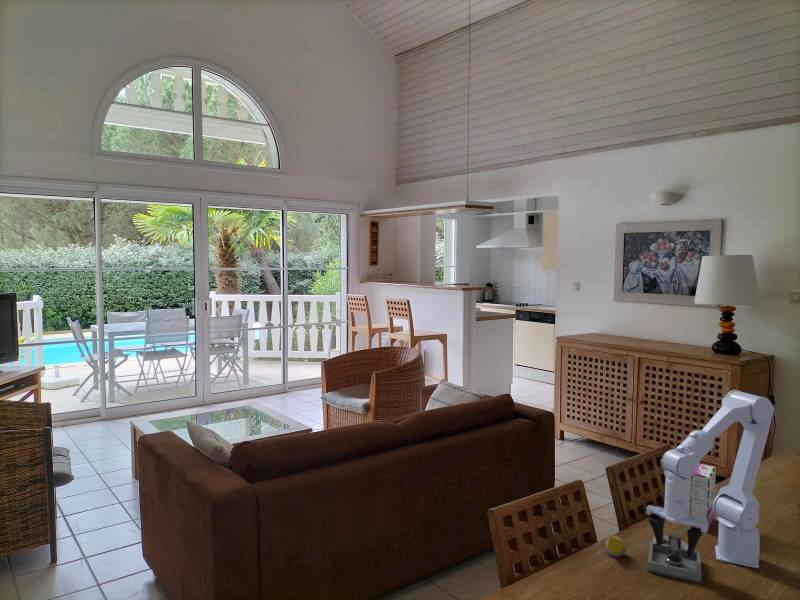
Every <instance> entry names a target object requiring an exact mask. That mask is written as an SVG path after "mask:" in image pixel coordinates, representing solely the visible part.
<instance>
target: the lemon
mask: <svg viewBox="0 0 800 600" xmlns="http://www.w3.org/2000/svg"><path fill="white" fill-rule="evenodd" d="M604 549H605V551H606V552H607V554H608V555H610V556H611V557H614V558H619V557H622V556H623V555H624V554H626V551H627V544H626V542H625V540H624V539H623V538H622V537H621V536H620V535H615V534H614V535H610V536H608V537H606V539H605V541H604Z"/></svg>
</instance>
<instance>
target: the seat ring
mask: <svg viewBox="0 0 800 600" xmlns="http://www.w3.org/2000/svg"><path fill="white" fill-rule="evenodd" d="M652 542H654V543H656V538H655V536H654V537H652ZM663 542H667V543H669V535H668V536H667V535H663ZM681 548H683V549H688V542H687V543H686V541H683V540H682V547H681Z"/></svg>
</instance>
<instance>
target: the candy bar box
mask: <svg viewBox="0 0 800 600" xmlns="http://www.w3.org/2000/svg"><path fill="white" fill-rule="evenodd" d="M716 469H717V468H716V466H712V465H707V464H703V463H699V465H698V467H697V471H696V473H695V474H694V475H693V476H691V496H690V501H691V504H690V505H691V506H690V516H692V517H695V518H697V519H699V520H701V521H703V522H706V523H708V531H709V529H710V528H711V525H712V523H714V522H713V521H714V520H715V513H714V511H713V502H714V499H715V498H716V496H715V495H716V477H717V475H716V474H717V473H716V472H717V470H716Z"/></svg>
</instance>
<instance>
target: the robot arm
mask: <svg viewBox="0 0 800 600" xmlns="http://www.w3.org/2000/svg"><path fill="white" fill-rule="evenodd" d="M721 400H722V401H721V407H720V408H719V409H718V410H717V411H716V413H715V414H714V415H713V416H712V417H711V418H710V420H709V421H708V422H707V423H706V424H705V426H703V428H702V429H699V430H698V429H697V430H696V429H695V430H693V431H691V432H690V433H688V436H687V437H686V438H685V439H684V440H683V441H681V443H680V444H679V445H678V446H677V447H676V448H672V449H669V450H667V451H666V452H664V454H663V456H662V459H660V464H661V467H662V469H663V472H664V473H663V475H664V476H665V483H664V484H665V485H664V487H665V488H664V507H659V506H655V505H651V504H649V505H647V506H646V510H645V511H646V512H645V514H646V515H648V516H649V517H648V523H649V524H650V526H651V528H652V530H653V533H654V537H655V538H656V543H657V545H658V546H660V545H661V544H663V542H664V541H663V536H664V527H665V526H664V525H665V521H667V522H669V523H671V524H675V523H677V524H680V525H683V526H686V527H689V529H688V530H687V531H686V534H687V544H688V556H689V557H691V556H692V555H693V554H694V551H696V547H697V544H698V541H699V540H700V538H701V536H702V535H703V533H704V534H706V533H708V532H709V530H708V523H706V522H703V521H701V520H699V519H697V518H695V517H692V516H691V514H690V505H691V504H690V501H691V483H692V476H693V475H694V474H695V473H696V471H697V467H698V465H699V464H700V462H701V460H702V459H703V458H704V457H705V456H706V455H707V454H708V453H709V452H710V451H712V449H713V448H714V440H715V439H716V438H717V437H718V436H720V435H721V434H722V433H723V432H724V431H726V430H727V429H728V428H729V427H730V426H732V425H733V424H734V423H736V422H737V423H740V424H741V426H742V427H743V433H742V436H741V440H740V443H739V446H738V447H739V448H738V451H737V454H736V458H735V462H734V465H733V469H732V471H731V476H730V480H729V484H728V485H725V486H722V487H721V488H719V490H718V493H717V495H716V496H715V499H714V502H713V511H714V515H716V520H718V535H717V536H718V538H717V539H718V540H717V545H715V546H714V551H715V557H716V560H718V561H721V562H726V563H729V564H736V565H741V566H745V567H749V568H755V569H759V568H760V567H759V563H760V562H759V560H760V545H761V543H760V541H761V540H760V539H761V537H760V536H761V535H760V530H759V528H757V527H756V526H757V525H758V523H759V519H760V513H759V511H760V510H759V509H760V502H759V500H758V499H757V498H756V496H755V495H754V493H753V491H754V488H755V483H756V479H757V477H758V476H757V475H758V472H759V470H760V465H761V461H762V458H763V454H764V450H765V447H766V444H767V439H768V435H769V431H770V429H771V428H770V427H771V423H772V420H773V415H774V412H775V407H774V405H773V403H772V402H771V401H770V399H769V398H767V397H765V396H758V395H755V394H751V393H748V392H743V391H740V390H737V389H732V390H730V391H729V392H728V393H727V394H726V395H725V396H724V397H723V398H722V399H721Z"/></svg>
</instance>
